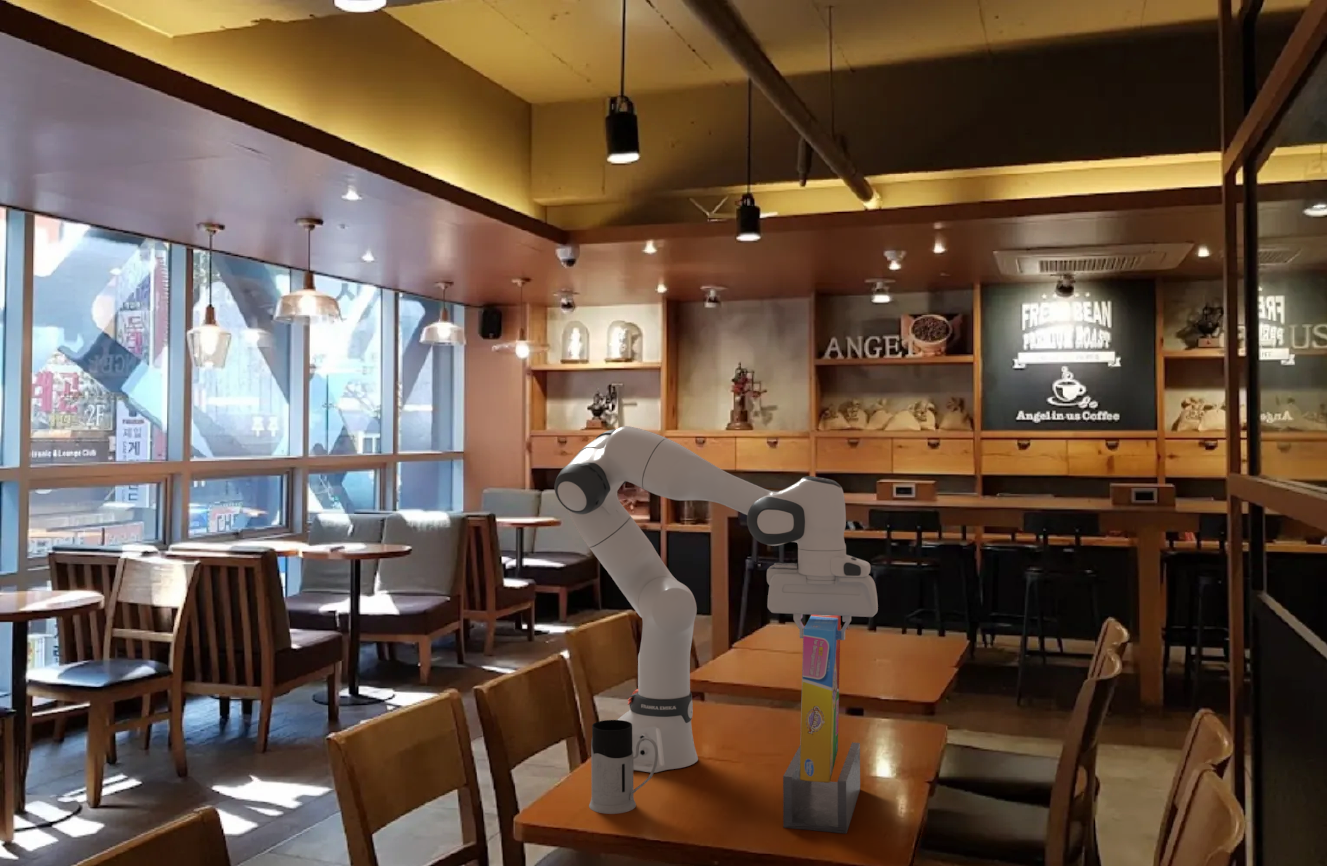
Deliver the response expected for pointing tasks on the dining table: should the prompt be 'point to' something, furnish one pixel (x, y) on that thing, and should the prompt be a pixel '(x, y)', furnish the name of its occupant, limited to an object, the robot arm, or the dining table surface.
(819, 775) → the game box
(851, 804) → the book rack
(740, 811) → the dining table surface
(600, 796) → the glass holder
